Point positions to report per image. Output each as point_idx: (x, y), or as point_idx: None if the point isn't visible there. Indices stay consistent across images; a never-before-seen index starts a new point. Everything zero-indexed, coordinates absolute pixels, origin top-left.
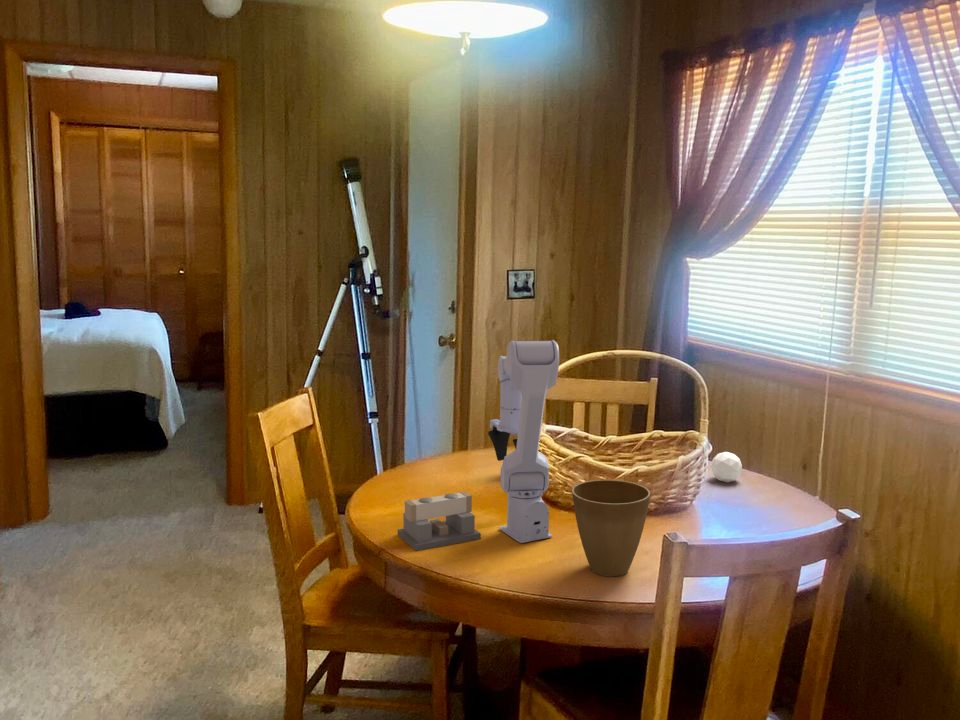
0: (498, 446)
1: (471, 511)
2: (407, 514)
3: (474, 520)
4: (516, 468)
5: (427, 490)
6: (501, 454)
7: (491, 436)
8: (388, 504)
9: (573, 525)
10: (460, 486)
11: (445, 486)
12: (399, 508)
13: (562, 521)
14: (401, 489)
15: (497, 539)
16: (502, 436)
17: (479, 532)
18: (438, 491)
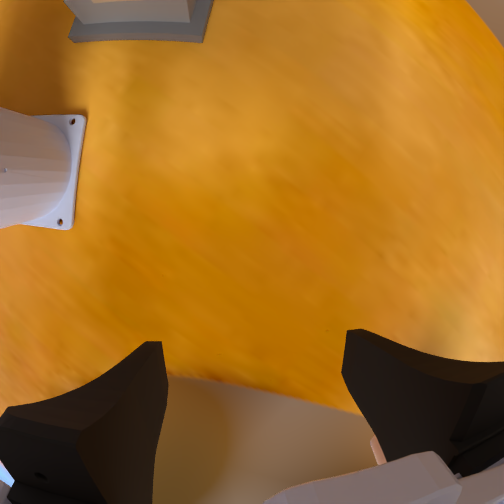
0: (393, 375)
1: (93, 2)
2: None
3: (69, 8)
4: None
5: (477, 160)
6: (359, 364)
7: (479, 370)
8: (436, 20)
9: (24, 320)
10: (456, 254)
11: (475, 220)
12: (403, 13)
13: (54, 319)
14: (501, 119)
15: (43, 79)
16: (419, 450)
17: (74, 36)
18: (461, 177)
